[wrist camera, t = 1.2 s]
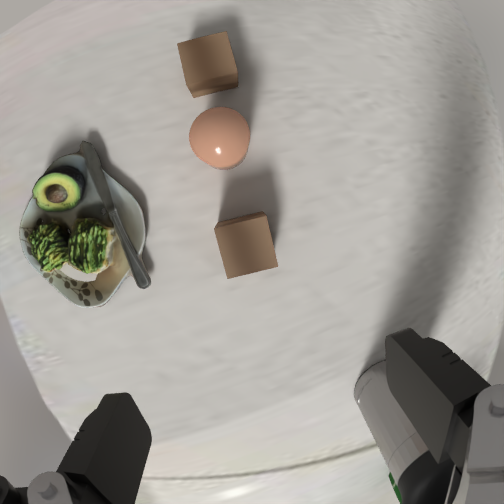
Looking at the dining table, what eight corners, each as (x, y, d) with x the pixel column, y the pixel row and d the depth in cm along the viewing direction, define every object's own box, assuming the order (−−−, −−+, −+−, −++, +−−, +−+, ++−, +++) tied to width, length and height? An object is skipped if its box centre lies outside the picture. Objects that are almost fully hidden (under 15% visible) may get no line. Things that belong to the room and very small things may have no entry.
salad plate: (195, 229, 34) (188, 236, 29) (113, 334, 36) (100, 351, 32) (79, 128, 31) (60, 123, 26) (16, 239, 33) (-4, 246, 29)
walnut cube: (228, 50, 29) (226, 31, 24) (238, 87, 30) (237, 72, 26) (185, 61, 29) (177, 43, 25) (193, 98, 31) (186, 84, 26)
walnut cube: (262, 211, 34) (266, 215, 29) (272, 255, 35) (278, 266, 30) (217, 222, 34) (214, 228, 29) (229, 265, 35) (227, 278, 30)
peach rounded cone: (253, 131, 32) (257, 115, 24) (240, 175, 32) (240, 172, 25) (209, 119, 31) (199, 101, 23) (195, 163, 32) (181, 156, 24)
